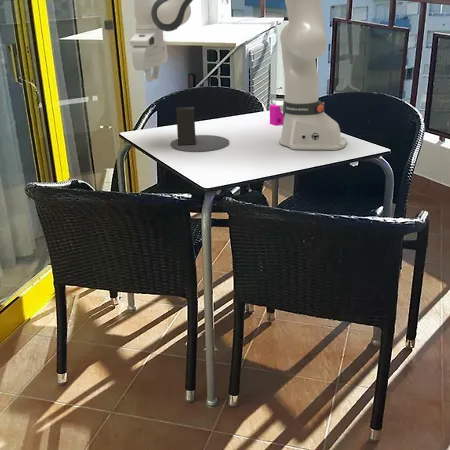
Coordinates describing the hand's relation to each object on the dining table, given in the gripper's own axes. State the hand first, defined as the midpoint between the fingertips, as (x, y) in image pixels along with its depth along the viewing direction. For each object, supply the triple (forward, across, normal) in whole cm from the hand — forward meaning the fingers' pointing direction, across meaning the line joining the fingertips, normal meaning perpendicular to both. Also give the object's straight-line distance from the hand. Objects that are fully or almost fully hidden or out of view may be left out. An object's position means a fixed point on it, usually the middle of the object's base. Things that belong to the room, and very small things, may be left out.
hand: (152, 80), depth 214 cm
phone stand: (+21, 0, +11) cm, 24 cm away
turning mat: (+21, 0, +16) cm, 26 cm away
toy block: (+22, -37, +38) cm, 57 cm away
